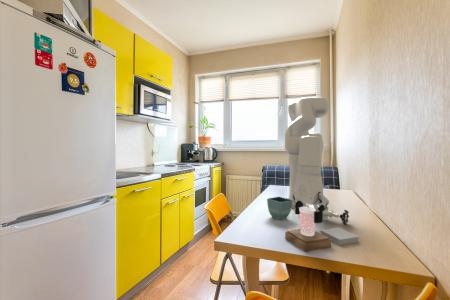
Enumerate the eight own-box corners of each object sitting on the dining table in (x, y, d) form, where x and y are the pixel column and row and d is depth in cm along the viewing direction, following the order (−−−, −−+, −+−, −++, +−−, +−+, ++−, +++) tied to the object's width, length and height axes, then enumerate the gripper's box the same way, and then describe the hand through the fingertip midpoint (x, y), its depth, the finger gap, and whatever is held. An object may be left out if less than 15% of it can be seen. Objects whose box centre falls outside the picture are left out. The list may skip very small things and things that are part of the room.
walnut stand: (285, 238, 82) (285, 230, 82) (308, 234, 86) (308, 226, 86) (305, 251, 72) (305, 242, 72) (331, 246, 76) (331, 238, 76)
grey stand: (320, 235, 86) (320, 230, 86) (337, 232, 89) (338, 227, 89) (339, 245, 77) (340, 239, 77) (358, 241, 80) (358, 236, 80)
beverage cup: (301, 229, 84) (302, 192, 83) (318, 233, 80) (319, 194, 80) (296, 234, 79) (297, 195, 78) (314, 238, 75) (315, 197, 75)
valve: (316, 219, 104) (344, 226, 96) (316, 205, 104) (344, 211, 95) (322, 216, 109) (348, 223, 100) (322, 203, 109) (349, 208, 100)
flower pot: (278, 213, 112) (278, 196, 111) (292, 218, 105) (293, 200, 104) (266, 216, 106) (266, 198, 106) (280, 222, 99) (281, 202, 99)
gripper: (285, 168, 85) (284, 211, 86) (319, 174, 69) (317, 228, 69) (301, 167, 88) (300, 210, 88) (337, 173, 72) (335, 225, 72)
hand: (307, 218), depth 79 cm, fingers open, 9 cm apart
